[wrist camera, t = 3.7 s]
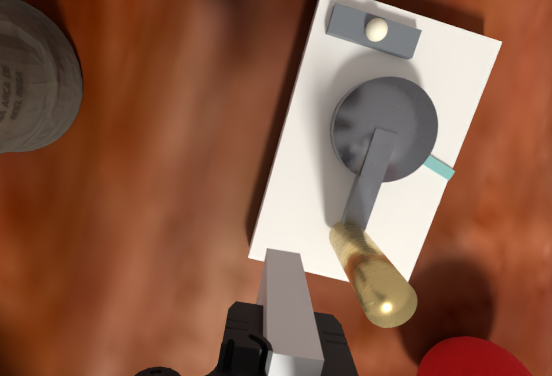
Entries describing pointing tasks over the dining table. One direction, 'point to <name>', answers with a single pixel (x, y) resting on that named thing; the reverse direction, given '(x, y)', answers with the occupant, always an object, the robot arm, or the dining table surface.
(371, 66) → the stand
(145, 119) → the dining table surface
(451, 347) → the ornament
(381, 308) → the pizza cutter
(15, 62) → the beer stein
